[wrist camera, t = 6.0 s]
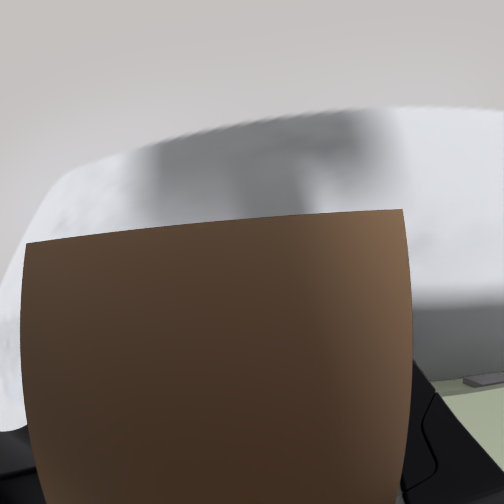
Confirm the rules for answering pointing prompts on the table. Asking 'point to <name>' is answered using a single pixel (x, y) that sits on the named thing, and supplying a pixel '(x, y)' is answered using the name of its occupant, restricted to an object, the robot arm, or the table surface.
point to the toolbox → (478, 408)
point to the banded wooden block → (221, 361)
